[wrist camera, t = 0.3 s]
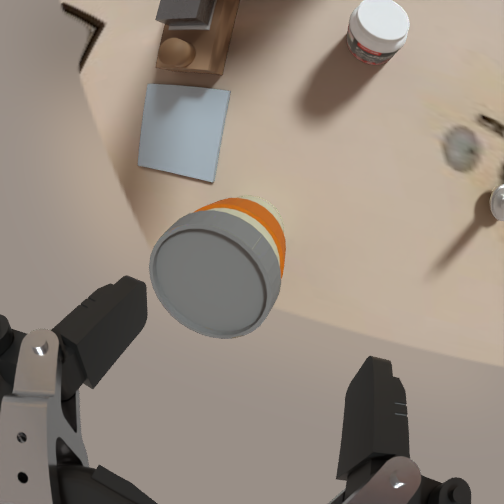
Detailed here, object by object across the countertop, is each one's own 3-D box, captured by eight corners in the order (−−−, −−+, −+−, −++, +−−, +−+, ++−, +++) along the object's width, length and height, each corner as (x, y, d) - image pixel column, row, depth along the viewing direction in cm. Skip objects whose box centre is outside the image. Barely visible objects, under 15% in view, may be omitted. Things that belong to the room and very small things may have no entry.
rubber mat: (150, 83, 34) (147, 83, 33) (230, 91, 32) (229, 90, 31) (140, 164, 39) (137, 165, 39) (214, 181, 38) (212, 182, 37)
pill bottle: (351, 66, 27) (357, 45, 18) (341, 24, 25) (343, -9, 16) (398, 65, 25) (421, 46, 17) (388, 23, 23) (405, -7, 14)
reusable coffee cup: (202, 255, 43) (147, 314, 30) (213, 171, 37) (148, 204, 24) (284, 281, 41) (258, 356, 28) (308, 196, 35) (292, 245, 22)
